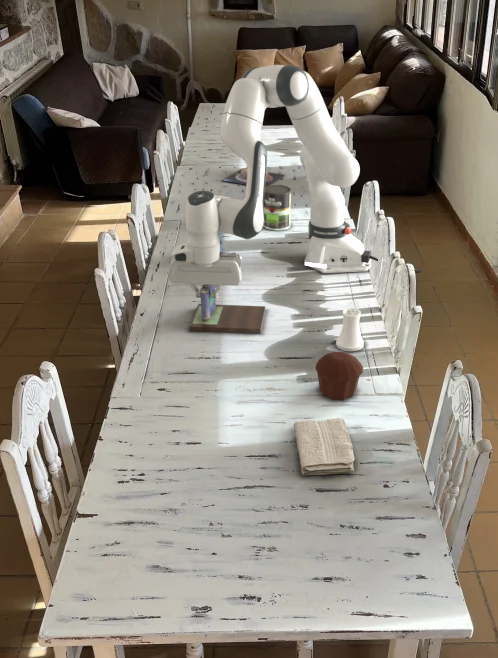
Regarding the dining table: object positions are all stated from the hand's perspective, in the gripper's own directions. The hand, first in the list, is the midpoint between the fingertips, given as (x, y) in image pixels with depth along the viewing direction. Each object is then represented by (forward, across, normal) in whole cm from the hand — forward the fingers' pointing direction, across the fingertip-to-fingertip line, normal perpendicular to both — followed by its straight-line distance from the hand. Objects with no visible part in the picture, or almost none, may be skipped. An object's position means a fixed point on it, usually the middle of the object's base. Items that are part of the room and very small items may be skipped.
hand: (206, 297), depth 207 cm
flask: (+6, 0, -1) cm, 6 cm away
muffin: (+8, -38, +34) cm, 52 cm away
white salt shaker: (+8, -41, +11) cm, 43 cm away
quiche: (+8, +1, -132) cm, 132 cm away
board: (+7, -6, 0) cm, 9 cm away
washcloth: (+8, -35, +58) cm, 68 cm away
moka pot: (+8, +6, -44) cm, 45 cm away
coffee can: (+8, -14, -76) cm, 78 cm away
